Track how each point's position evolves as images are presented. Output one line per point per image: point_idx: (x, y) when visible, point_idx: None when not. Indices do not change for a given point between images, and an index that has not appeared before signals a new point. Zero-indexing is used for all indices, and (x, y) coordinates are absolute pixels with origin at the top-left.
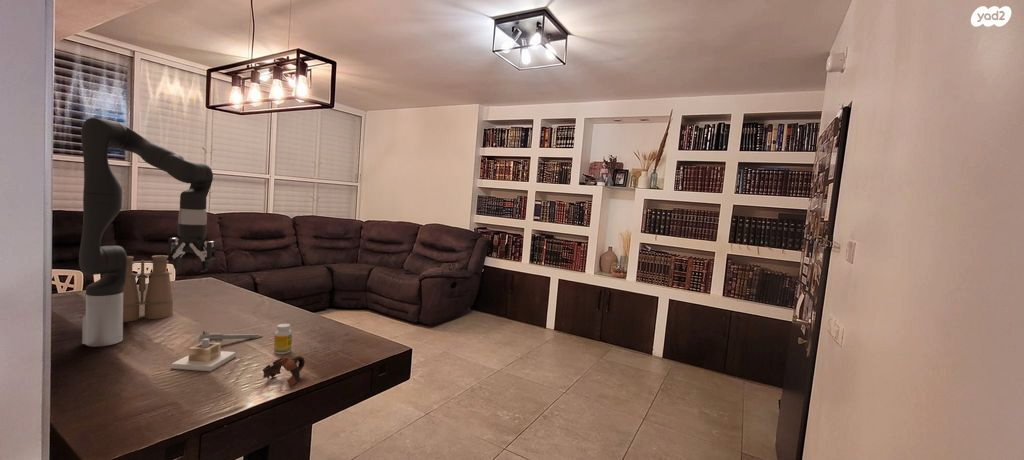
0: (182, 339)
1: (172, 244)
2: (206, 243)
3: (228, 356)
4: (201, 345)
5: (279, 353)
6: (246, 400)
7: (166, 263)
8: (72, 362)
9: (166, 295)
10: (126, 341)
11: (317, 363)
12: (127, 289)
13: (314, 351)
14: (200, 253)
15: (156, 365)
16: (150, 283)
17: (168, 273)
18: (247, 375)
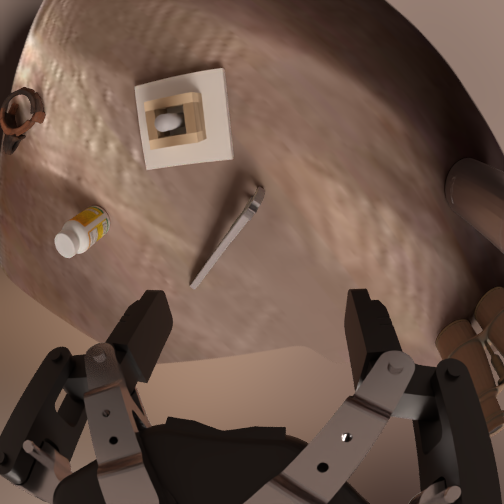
0: (342, 233)
1: (452, 481)
2: (38, 481)
3: (142, 143)
4: (186, 125)
5: (91, 206)
6: (37, 44)
7: None
8: (438, 72)
9: None
10: (438, 198)
11: (31, 190)
12: None
13: None
14: (85, 395)
15: (270, 74)
16: (489, 373)
17: None
18: (75, 102)
